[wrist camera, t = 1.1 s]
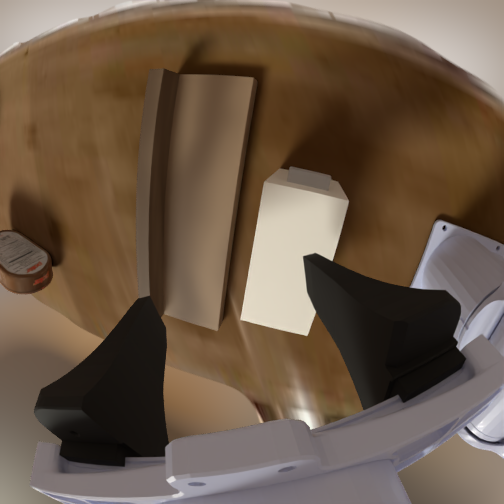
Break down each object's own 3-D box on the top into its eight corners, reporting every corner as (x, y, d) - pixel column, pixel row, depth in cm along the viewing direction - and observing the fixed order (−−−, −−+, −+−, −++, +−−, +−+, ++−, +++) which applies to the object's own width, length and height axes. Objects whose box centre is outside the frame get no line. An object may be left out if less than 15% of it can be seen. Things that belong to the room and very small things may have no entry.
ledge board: (257, 81, 18) (245, 69, 14) (222, 321, 27) (209, 347, 24) (175, 77, 19) (149, 69, 15) (160, 302, 28) (141, 324, 24)
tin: (11, 238, 32) (-25, 259, 24) (10, 221, 31) (-29, 240, 23) (64, 276, 31) (22, 307, 23) (63, 256, 30) (17, 286, 22)
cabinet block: (340, 171, 19) (352, 186, 13) (311, 283, 24) (307, 335, 17) (281, 158, 20) (266, 166, 14) (260, 271, 24) (240, 319, 18)
